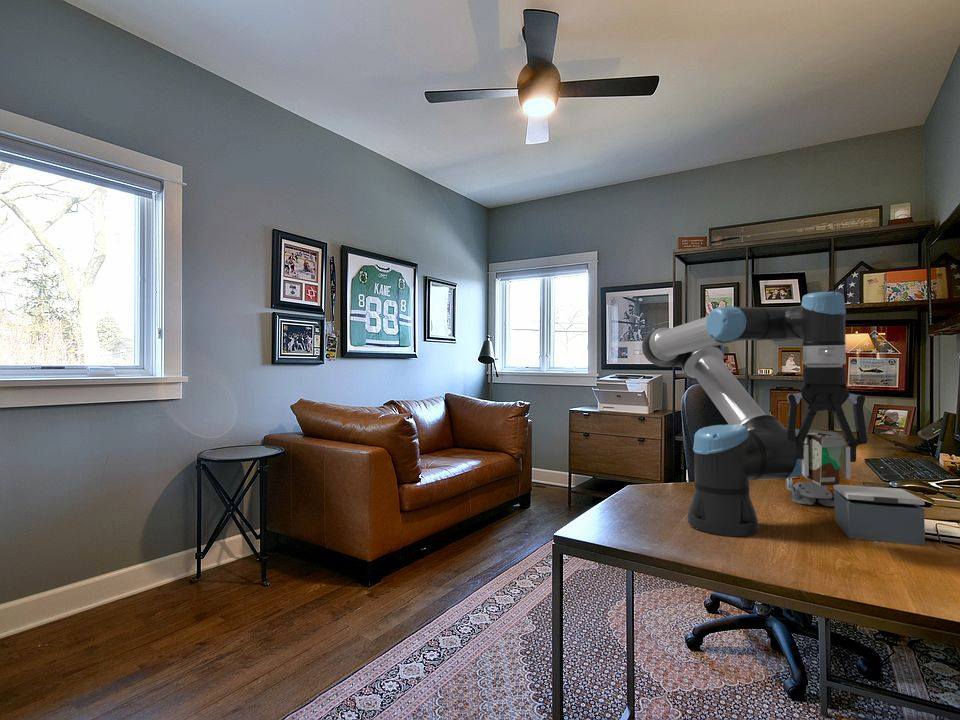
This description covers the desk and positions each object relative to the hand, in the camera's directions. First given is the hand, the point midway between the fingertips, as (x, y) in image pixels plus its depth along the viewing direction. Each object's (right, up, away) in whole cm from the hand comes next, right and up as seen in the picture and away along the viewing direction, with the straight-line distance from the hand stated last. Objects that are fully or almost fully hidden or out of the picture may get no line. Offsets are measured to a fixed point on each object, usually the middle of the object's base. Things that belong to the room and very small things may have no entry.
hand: (825, 475), depth 108 cm
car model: (+21, -15, +38) cm, 46 cm away
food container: (0, -1, 0) cm, 1 cm away
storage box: (+16, -14, +8) cm, 23 cm away
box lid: (+16, -6, +7) cm, 19 cm away
